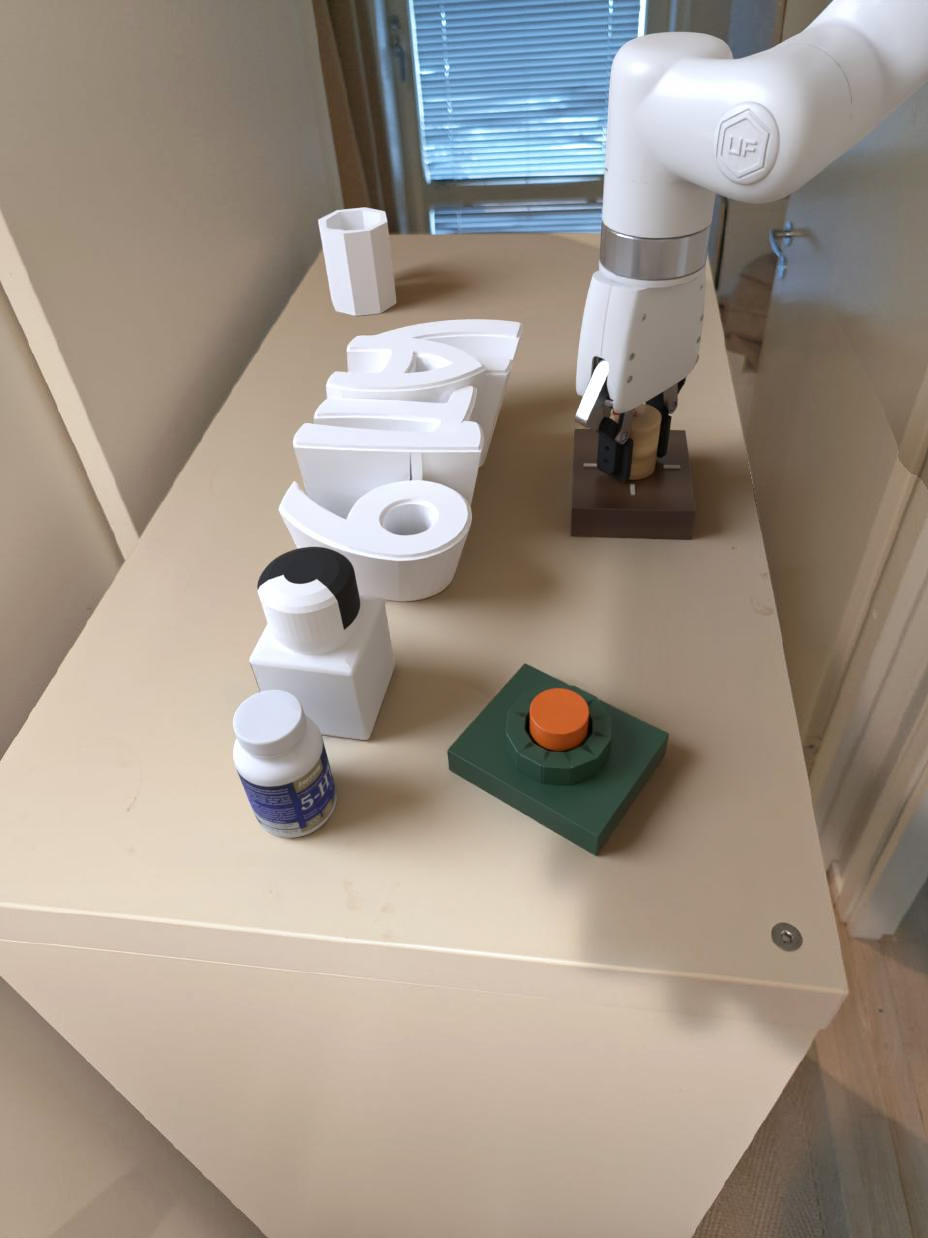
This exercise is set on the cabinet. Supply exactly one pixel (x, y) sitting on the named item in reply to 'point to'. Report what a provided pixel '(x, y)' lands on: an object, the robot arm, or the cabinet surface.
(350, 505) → the white lettered block
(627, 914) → the cabinet surface
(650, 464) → the knob
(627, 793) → the green push button box
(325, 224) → the white octagonal cup
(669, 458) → the hob panel
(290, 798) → the pill bottle
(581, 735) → the button
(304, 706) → the block figurine
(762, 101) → the robot arm
